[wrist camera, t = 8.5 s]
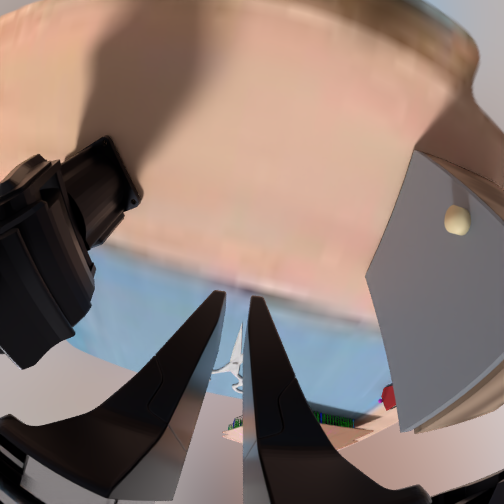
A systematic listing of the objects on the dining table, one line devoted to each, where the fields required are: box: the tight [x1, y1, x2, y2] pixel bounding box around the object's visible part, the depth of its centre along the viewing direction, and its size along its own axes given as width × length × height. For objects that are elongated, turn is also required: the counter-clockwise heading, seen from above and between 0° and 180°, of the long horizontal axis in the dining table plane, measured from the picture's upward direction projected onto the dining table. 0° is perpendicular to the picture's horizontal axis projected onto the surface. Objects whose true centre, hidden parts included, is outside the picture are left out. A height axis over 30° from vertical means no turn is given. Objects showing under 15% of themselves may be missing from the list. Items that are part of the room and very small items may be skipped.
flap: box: [365, 150, 504, 432], centre depth 14 cm, size 2×12×14 cm, turn 174°
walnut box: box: [414, 152, 504, 434], centre depth 14 cm, size 9×12×15 cm
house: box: [223, 411, 373, 450], centre depth 49 cm, size 23×33×8 cm
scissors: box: [209, 325, 243, 394], centre depth 35 cm, size 11×1×20 cm
